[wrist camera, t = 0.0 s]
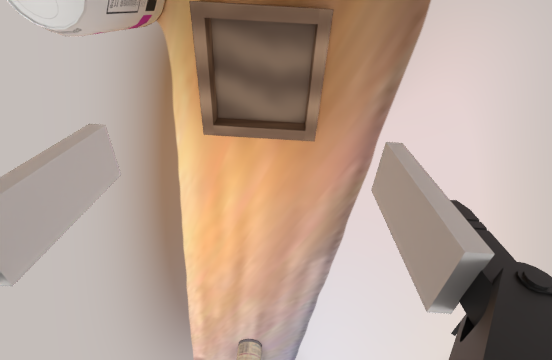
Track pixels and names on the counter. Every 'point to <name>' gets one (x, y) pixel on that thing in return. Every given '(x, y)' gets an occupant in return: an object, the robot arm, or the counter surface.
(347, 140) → the counter surface
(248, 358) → the aerosol can
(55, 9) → the supplement can
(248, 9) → the tray
